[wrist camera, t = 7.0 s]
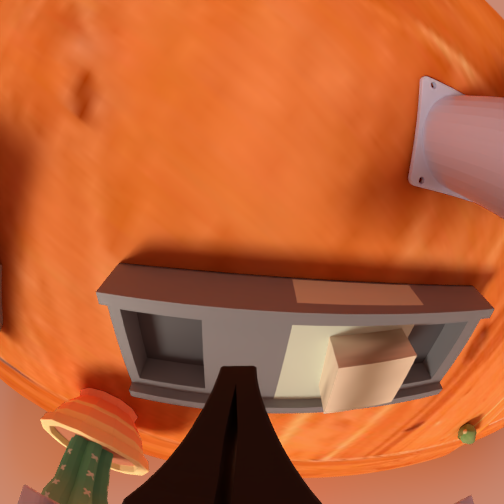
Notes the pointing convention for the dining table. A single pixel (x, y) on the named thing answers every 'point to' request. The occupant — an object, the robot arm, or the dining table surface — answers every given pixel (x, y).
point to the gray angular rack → (0, 317)
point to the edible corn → (467, 433)
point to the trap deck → (274, 330)
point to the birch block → (364, 369)
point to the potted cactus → (92, 446)
